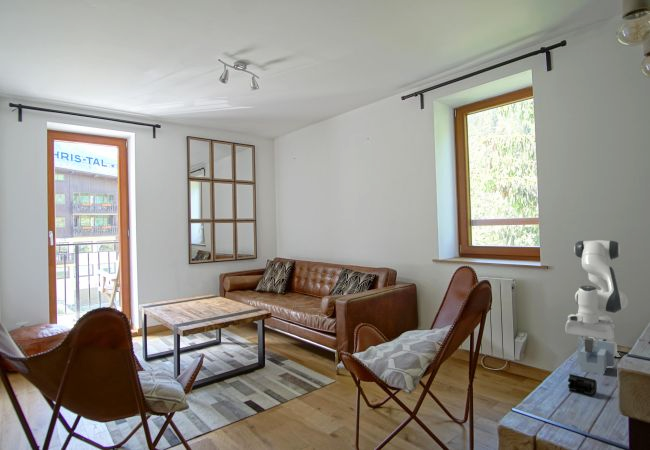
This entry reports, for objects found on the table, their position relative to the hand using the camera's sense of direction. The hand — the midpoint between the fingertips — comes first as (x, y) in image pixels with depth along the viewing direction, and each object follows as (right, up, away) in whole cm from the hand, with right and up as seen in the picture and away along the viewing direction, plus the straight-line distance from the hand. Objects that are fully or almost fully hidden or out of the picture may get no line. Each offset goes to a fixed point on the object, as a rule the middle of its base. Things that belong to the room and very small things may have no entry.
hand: (589, 345), depth 184 cm
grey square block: (+11, -16, +11) cm, 22 cm away
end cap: (-17, -15, -19) cm, 30 cm away
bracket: (0, -3, 0) cm, 3 cm away
